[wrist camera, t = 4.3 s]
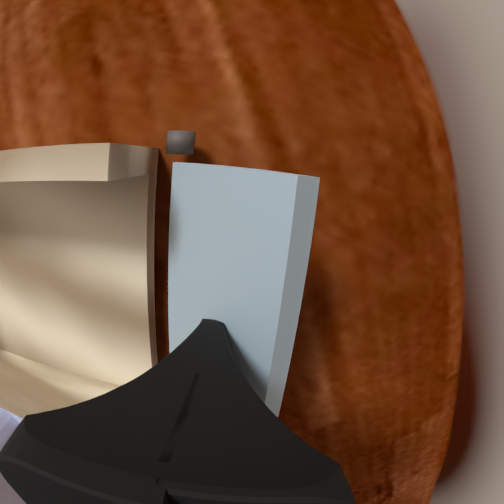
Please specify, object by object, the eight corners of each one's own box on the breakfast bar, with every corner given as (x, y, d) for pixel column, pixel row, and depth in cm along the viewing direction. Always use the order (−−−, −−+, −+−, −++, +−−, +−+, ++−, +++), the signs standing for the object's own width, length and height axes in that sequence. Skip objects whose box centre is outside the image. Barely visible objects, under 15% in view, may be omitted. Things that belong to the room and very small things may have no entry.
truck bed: (190, 405, 15) (174, 479, 10) (-9, 351, 14) (-50, 390, 10) (199, 134, 11) (165, 116, 6) (-37, 150, 11) (-99, 157, 6)
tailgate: (186, 403, 14) (263, 475, 10) (173, 408, 13) (248, 484, 9) (192, 162, 11) (319, 177, 7) (172, 162, 10) (297, 175, 6)
